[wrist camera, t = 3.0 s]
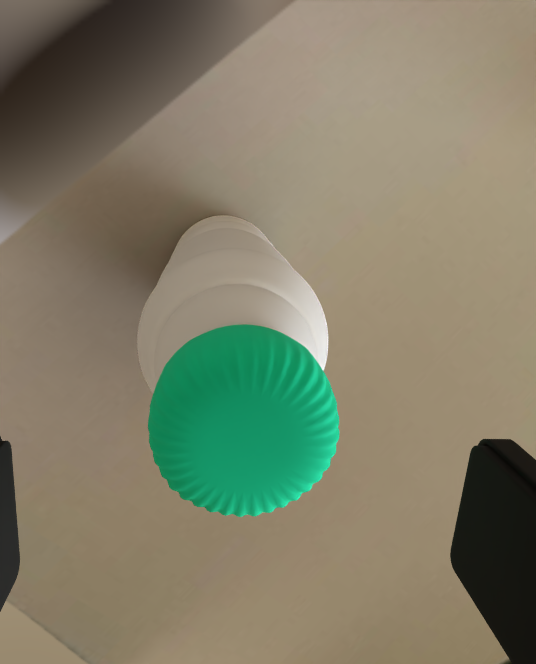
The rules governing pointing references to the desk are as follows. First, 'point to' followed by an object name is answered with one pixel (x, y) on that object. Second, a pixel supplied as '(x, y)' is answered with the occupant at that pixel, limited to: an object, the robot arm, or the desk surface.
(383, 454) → the desk surface
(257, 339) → the water bottle
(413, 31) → the desk surface
